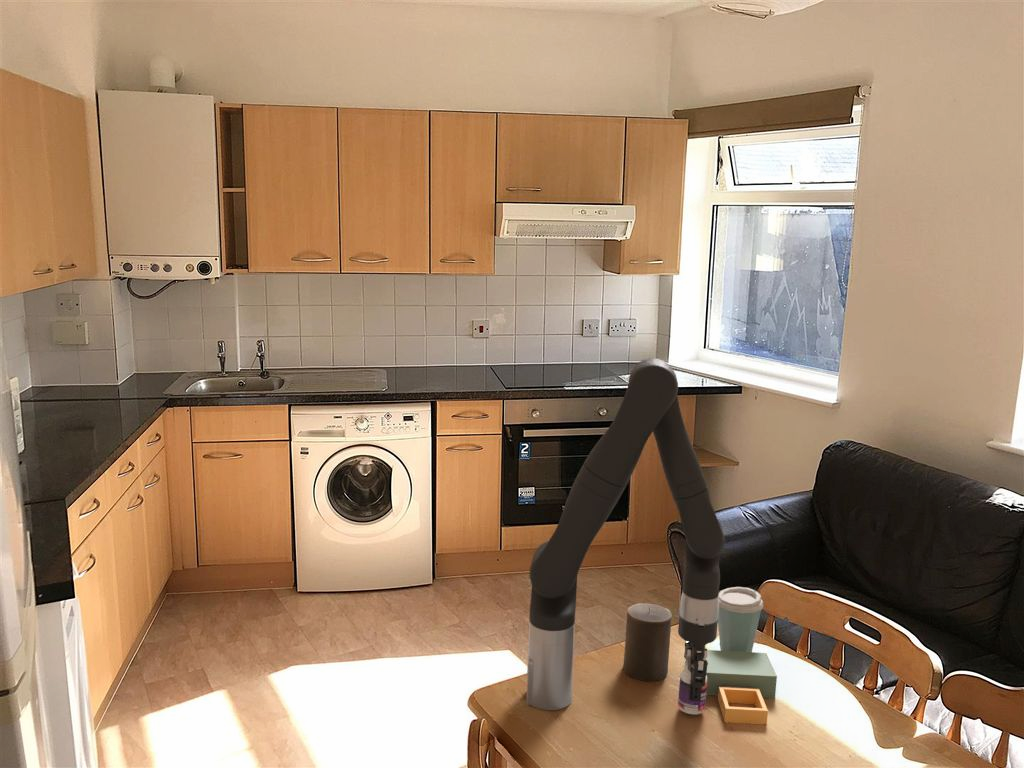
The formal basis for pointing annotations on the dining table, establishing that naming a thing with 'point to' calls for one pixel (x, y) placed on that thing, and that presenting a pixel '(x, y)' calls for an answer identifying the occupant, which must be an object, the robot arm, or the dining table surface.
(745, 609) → the disposable coffee cup
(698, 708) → the pill bottle
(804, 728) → the dining table surface
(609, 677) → the dining table surface
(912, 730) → the dining table surface
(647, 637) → the pillar candle
